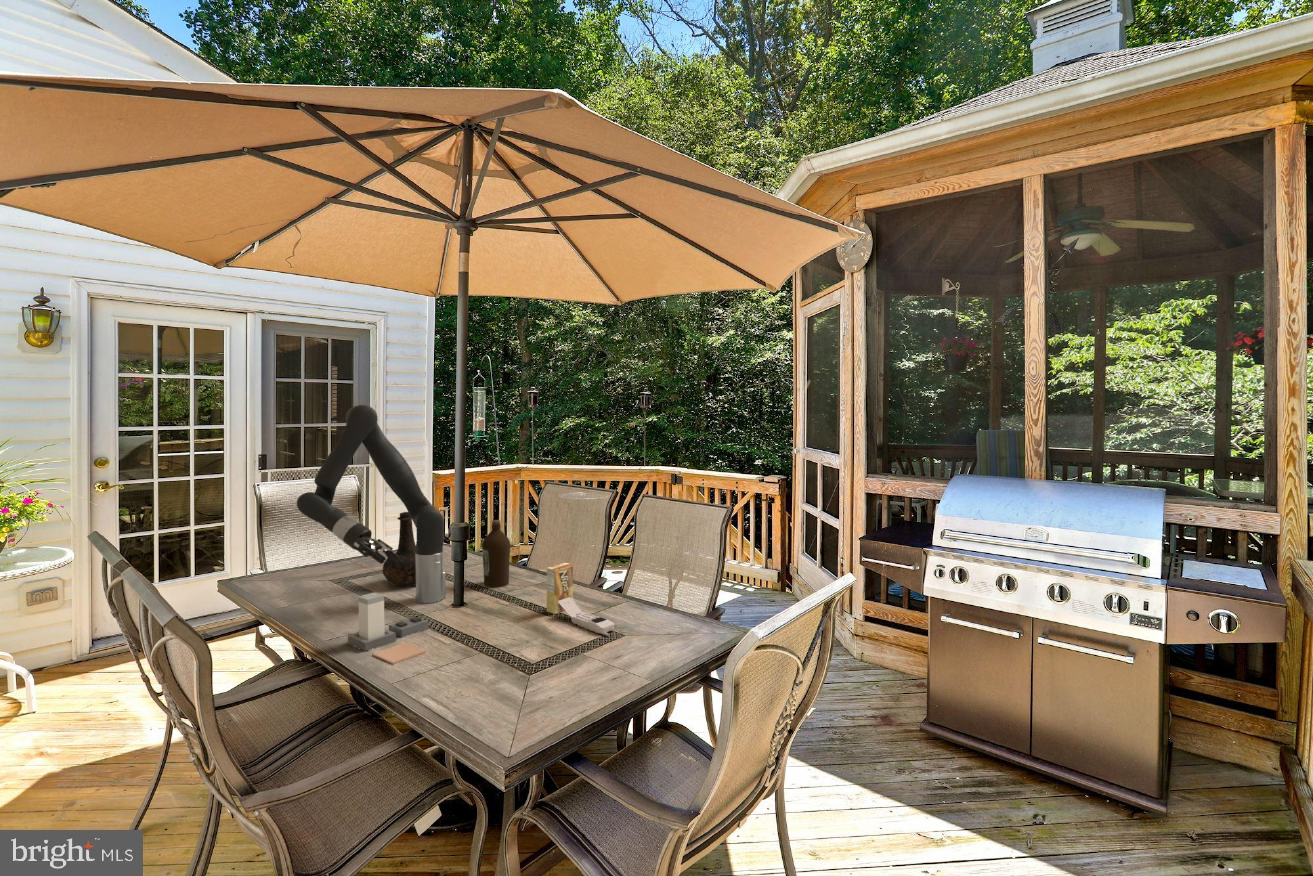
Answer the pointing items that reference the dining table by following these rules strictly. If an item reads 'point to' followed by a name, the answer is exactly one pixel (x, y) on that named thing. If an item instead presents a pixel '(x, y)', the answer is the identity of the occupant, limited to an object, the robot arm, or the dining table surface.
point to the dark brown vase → (403, 556)
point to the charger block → (371, 616)
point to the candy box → (559, 586)
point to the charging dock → (389, 633)
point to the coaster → (399, 653)
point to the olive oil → (496, 557)
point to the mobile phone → (586, 617)
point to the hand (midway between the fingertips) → (391, 560)
